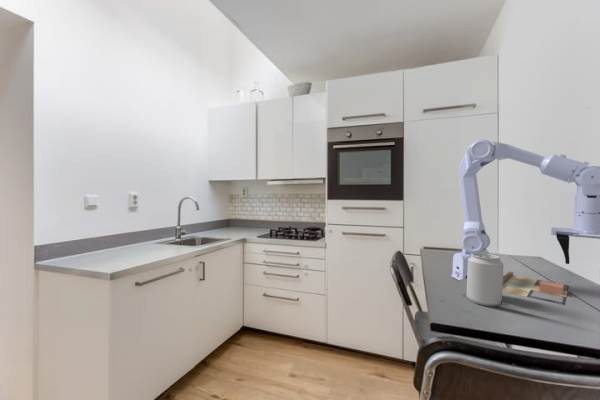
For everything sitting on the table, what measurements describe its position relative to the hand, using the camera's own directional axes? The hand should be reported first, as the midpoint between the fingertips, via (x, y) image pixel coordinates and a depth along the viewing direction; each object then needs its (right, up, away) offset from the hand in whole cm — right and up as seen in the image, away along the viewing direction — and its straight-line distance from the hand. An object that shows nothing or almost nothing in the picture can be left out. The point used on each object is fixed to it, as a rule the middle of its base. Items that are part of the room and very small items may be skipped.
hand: (588, 266), depth 71 cm
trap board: (-9, -9, +7) cm, 14 cm away
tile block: (-6, -8, +4) cm, 10 cm away
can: (-27, -9, -1) cm, 29 cm away
